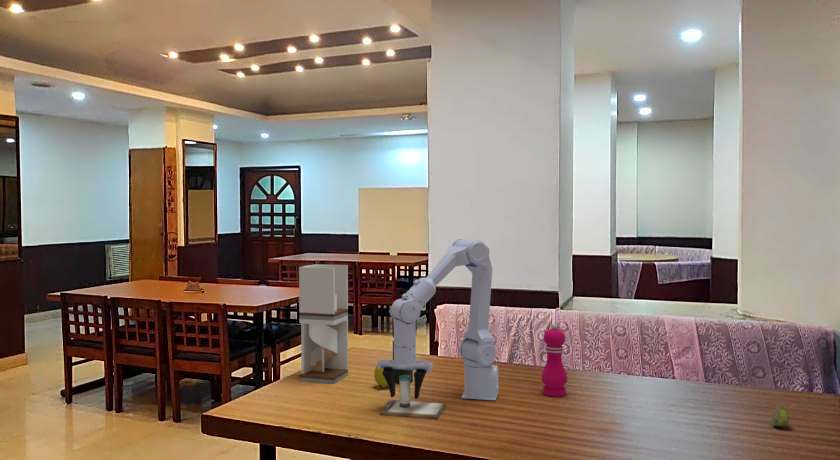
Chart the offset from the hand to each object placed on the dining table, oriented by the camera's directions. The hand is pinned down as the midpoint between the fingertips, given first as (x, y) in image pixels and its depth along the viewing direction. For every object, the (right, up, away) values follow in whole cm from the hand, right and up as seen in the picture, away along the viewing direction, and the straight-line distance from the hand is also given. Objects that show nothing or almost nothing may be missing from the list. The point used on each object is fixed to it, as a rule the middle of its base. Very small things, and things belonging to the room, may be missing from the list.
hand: (404, 396), depth 162 cm
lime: (+90, -4, -13) cm, 91 cm away
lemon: (-7, -3, +20) cm, 21 cm away
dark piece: (-1, -3, +26) cm, 26 cm away
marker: (0, -2, 0) cm, 2 cm away
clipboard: (+2, -3, -1) cm, 4 cm away
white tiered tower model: (-26, -3, +31) cm, 40 cm away
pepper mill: (+42, -3, +14) cm, 44 cm away
